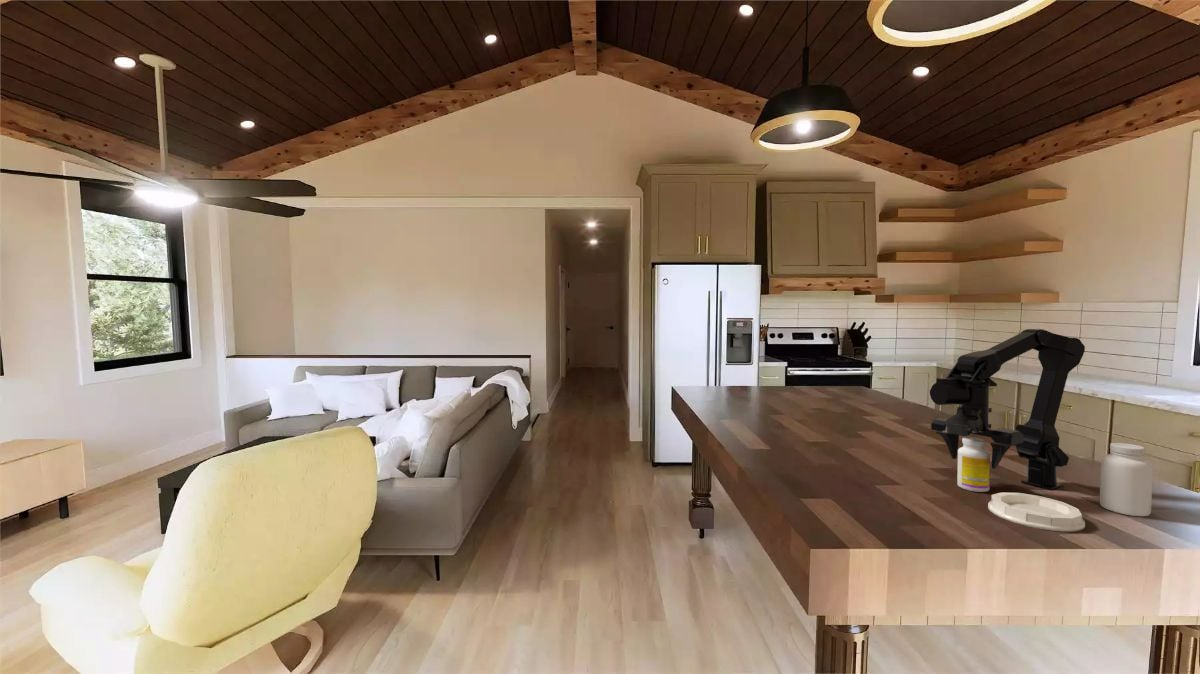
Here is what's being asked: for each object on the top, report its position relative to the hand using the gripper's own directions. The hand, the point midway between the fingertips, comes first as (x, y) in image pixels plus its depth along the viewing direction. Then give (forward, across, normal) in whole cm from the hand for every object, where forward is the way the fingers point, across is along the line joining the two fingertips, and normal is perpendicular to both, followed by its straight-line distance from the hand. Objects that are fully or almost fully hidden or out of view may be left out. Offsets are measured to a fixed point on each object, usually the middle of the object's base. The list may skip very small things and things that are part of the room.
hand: (973, 463), depth 124 cm
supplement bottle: (+7, 0, 0) cm, 7 cm away
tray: (+6, +16, -7) cm, 19 cm away
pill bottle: (+7, +23, +15) cm, 28 cm away
